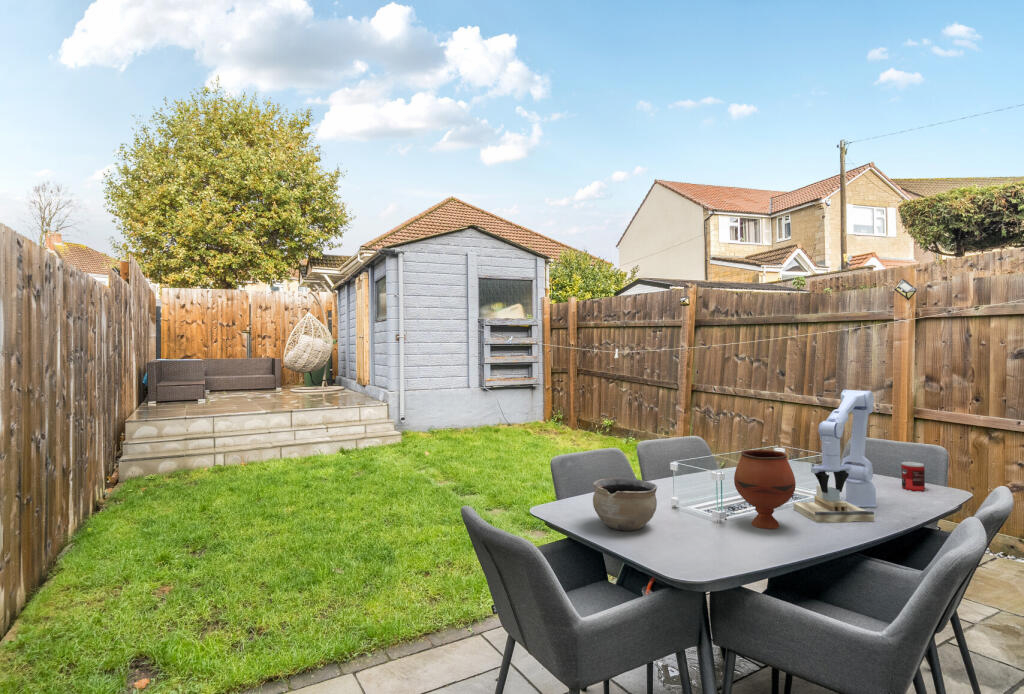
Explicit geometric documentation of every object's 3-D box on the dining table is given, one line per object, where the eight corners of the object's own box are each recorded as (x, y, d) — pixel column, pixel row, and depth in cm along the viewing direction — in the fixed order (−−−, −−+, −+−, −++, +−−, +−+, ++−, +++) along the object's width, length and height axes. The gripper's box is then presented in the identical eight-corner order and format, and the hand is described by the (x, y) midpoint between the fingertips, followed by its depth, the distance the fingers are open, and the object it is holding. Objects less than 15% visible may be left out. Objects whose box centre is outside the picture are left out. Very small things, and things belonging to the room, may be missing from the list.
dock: (846, 508, 209) (846, 499, 209) (874, 521, 193) (874, 511, 193) (793, 509, 209) (793, 500, 209) (816, 522, 193) (816, 512, 193)
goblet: (722, 521, 197) (721, 450, 197) (764, 514, 203) (763, 446, 204) (765, 537, 179) (763, 460, 179) (809, 529, 186) (808, 455, 186)
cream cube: (827, 495, 207) (827, 484, 207) (833, 498, 203) (833, 487, 203) (816, 495, 207) (816, 484, 207) (822, 498, 203) (822, 487, 203)
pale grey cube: (833, 498, 203) (833, 487, 203) (839, 501, 199) (839, 490, 199) (822, 498, 203) (822, 487, 203) (828, 501, 199) (828, 490, 199)
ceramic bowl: (579, 526, 194) (579, 482, 194) (619, 513, 208) (619, 473, 208) (631, 542, 177) (630, 495, 177) (671, 527, 191) (670, 483, 191)
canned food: (905, 486, 241) (904, 460, 241) (927, 489, 235) (926, 463, 235) (899, 489, 236) (898, 463, 236) (921, 492, 230) (921, 466, 230)
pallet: (829, 502, 208) (828, 494, 208) (847, 511, 197) (847, 503, 197) (814, 503, 208) (814, 495, 208) (832, 511, 197) (832, 503, 197)
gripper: (841, 451, 206) (842, 488, 206) (805, 453, 204) (806, 490, 204) (855, 455, 199) (856, 493, 199) (818, 456, 197) (818, 495, 197)
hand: (831, 491), depth 201 cm, fingers open, 5 cm apart
